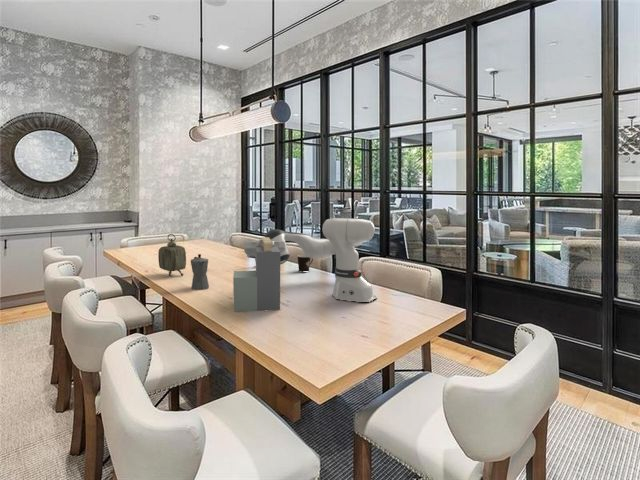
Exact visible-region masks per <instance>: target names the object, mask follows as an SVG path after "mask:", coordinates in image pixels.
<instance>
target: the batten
mask: <svg viewBox="0 0 640 480" xmlns="http://www.w3.org/2000/svg"><path fill="white" fill-rule="evenodd" d="M261 240H262V247H263V249H264V251H273V243H272V241H271V240H270V238H269V237H262V236H261Z"/></svg>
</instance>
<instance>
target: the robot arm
mask: <svg viewBox="0 0 640 480" xmlns="http://www.w3.org/2000/svg"><path fill="white" fill-rule="evenodd" d="M375 232H376V229H375V225H374V223H373V222H372V221H371V220H368V219H363V218H349V217H334V218H333V217H331V218H328V219H325V221H324V222H323V224H322V233H323V236H324V237H325V238H314V237H311V236H310V235H308V234H306V233H304V232H303V233H302V232H293V231H288V230H287V231H286V230H285V231H284V230H281V229H279V228H276V229H275V228H274V229H271V230H269V231H267V233H266V235H265V237H269V238H270V240H271V241H272V243H273V247H278V249H279V250H280V265H282V264H284V263H287V261H288V260H289V258H290V256H291V253H290V251H289V248H288V246H287V245H288V244H287V242H293V243H295V244H297V246H298V247H300V249H301V250H302V253H304V255H306V256H308V257H309V258H311V259H312V258H313V260H314V259H322V258H326V257H329V256H333V255H334V259H336V260H335V263H336V264H335V265H336V266H335V270H334V276H335V280H334V281H335V282H334V286H333V290H332V291H333V292H332V295H333V296H334V297H333V298H334V299H335V300H336V299H340V300H339V301H343V300H347V301H346V302H351V301H357V302H356V303H358V302H369V301H372V300H374V299H376V298H377V299H378V295H377V294H374V292H373V286H372V284H371V283H370V282H368V281H367V280H366V279H365V278H364V276H362V274H363V273H364V272H363V271H364V270H363V269H362V270H360V268H359V252H358V251H357V250H356V248H355V247H359V246H361V245H362V244H363V243H364V242H367V241H371V240H372V238H373V237H374V236H375ZM243 246H244V247H243V249H244V253H245V255H246V257H247V258H248V259H254V260H255V263H256V247H262V239H258V240H257V241H244V242H243ZM332 295H331V296H332ZM377 299H376V300H377ZM372 302H373V301H372ZM369 303H370V302H369Z"/></svg>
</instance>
